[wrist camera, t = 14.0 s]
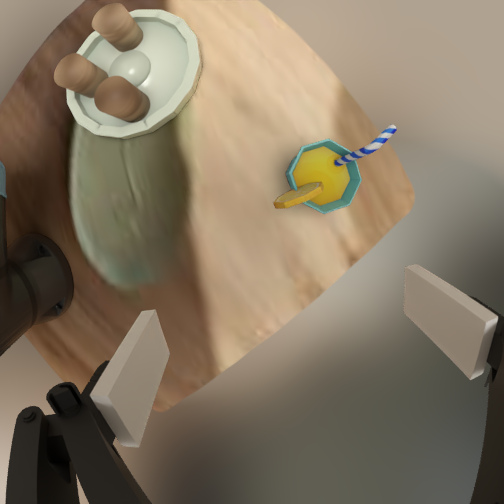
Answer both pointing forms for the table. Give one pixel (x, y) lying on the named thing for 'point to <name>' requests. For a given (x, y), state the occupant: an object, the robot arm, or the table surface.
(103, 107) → the brown stubby piece
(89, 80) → the brown rounded cylinder
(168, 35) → the tray
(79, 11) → the table surface
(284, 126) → the table surface
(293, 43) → the table surface
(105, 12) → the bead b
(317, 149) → the cup
